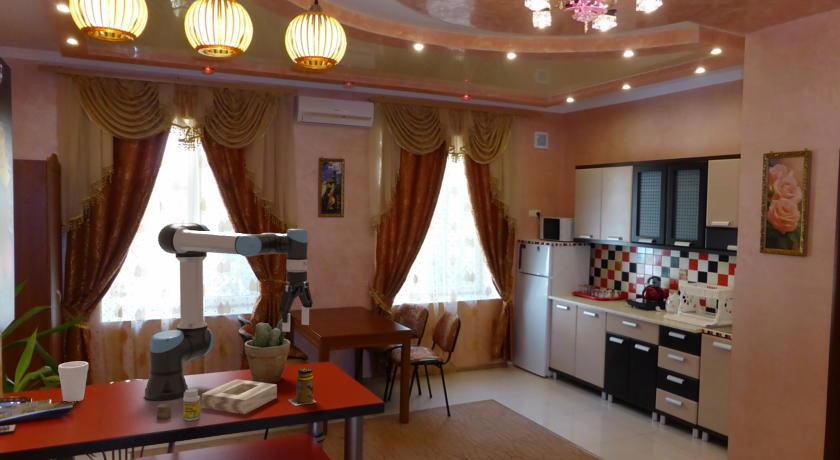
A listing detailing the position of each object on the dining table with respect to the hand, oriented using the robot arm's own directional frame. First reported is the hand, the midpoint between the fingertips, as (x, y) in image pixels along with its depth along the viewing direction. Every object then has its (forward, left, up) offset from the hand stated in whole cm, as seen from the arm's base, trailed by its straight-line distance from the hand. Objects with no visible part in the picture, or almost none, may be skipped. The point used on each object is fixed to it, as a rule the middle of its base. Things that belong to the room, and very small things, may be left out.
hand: (295, 328), depth 224 cm
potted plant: (-25, +20, -28) cm, 42 cm away
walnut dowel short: (-31, -32, -27) cm, 53 cm away
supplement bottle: (-22, -29, -28) cm, 46 cm away
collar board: (-17, -9, -27) cm, 34 cm away
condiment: (+3, +1, -28) cm, 28 cm away
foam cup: (-74, -30, -28) cm, 85 cm away
